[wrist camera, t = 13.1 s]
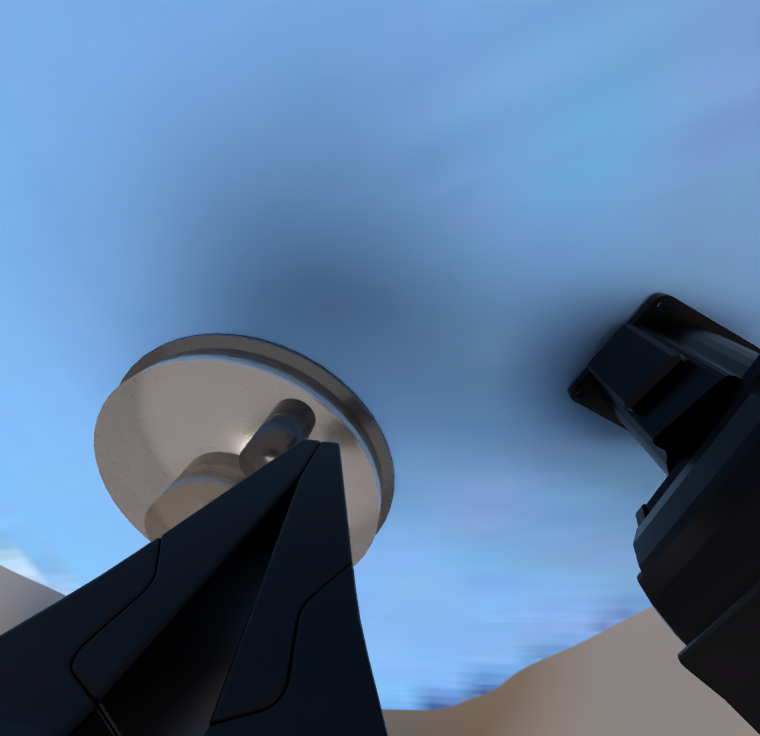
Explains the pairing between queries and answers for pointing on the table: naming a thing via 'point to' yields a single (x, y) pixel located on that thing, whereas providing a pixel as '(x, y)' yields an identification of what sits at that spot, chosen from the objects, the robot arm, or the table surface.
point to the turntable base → (302, 365)
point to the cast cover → (193, 491)
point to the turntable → (227, 429)
